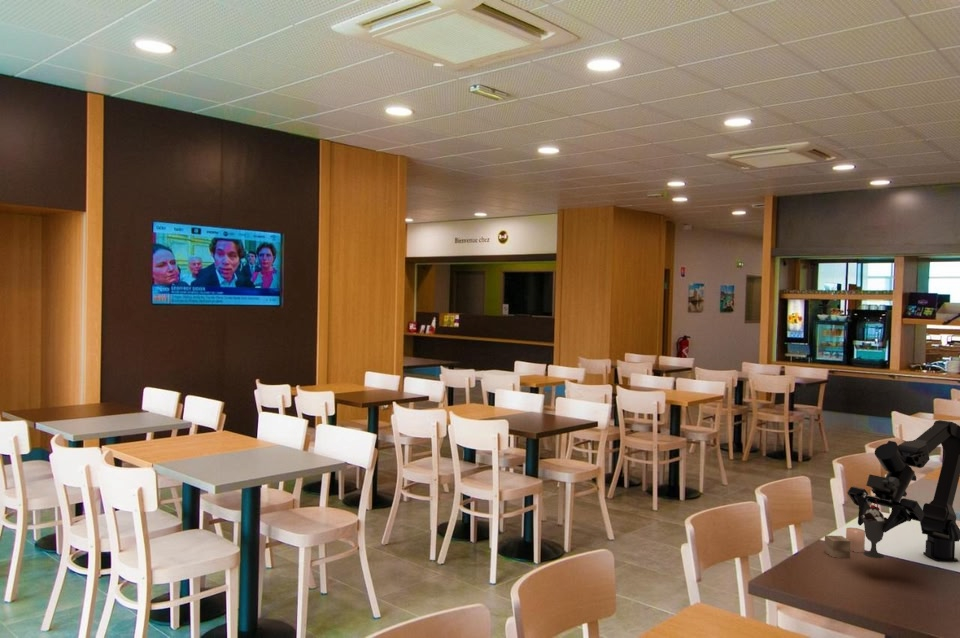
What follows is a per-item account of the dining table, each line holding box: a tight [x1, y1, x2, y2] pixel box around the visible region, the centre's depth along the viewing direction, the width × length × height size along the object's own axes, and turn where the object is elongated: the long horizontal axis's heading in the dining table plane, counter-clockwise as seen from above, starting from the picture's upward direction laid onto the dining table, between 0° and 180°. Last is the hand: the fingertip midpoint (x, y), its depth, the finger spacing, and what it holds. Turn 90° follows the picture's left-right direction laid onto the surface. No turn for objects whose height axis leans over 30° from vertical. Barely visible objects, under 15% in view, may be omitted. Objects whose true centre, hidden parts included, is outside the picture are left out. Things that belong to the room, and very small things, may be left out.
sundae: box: [861, 499, 888, 559], centre depth 196 cm, size 7×7×15 cm
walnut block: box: [824, 535, 851, 559], centre depth 213 cm, size 5×5×5 cm
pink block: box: [845, 527, 866, 553], centre depth 218 cm, size 5×5×6 cm
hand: (871, 527), depth 195 cm, fingers closed on sundae, 6 cm apart
